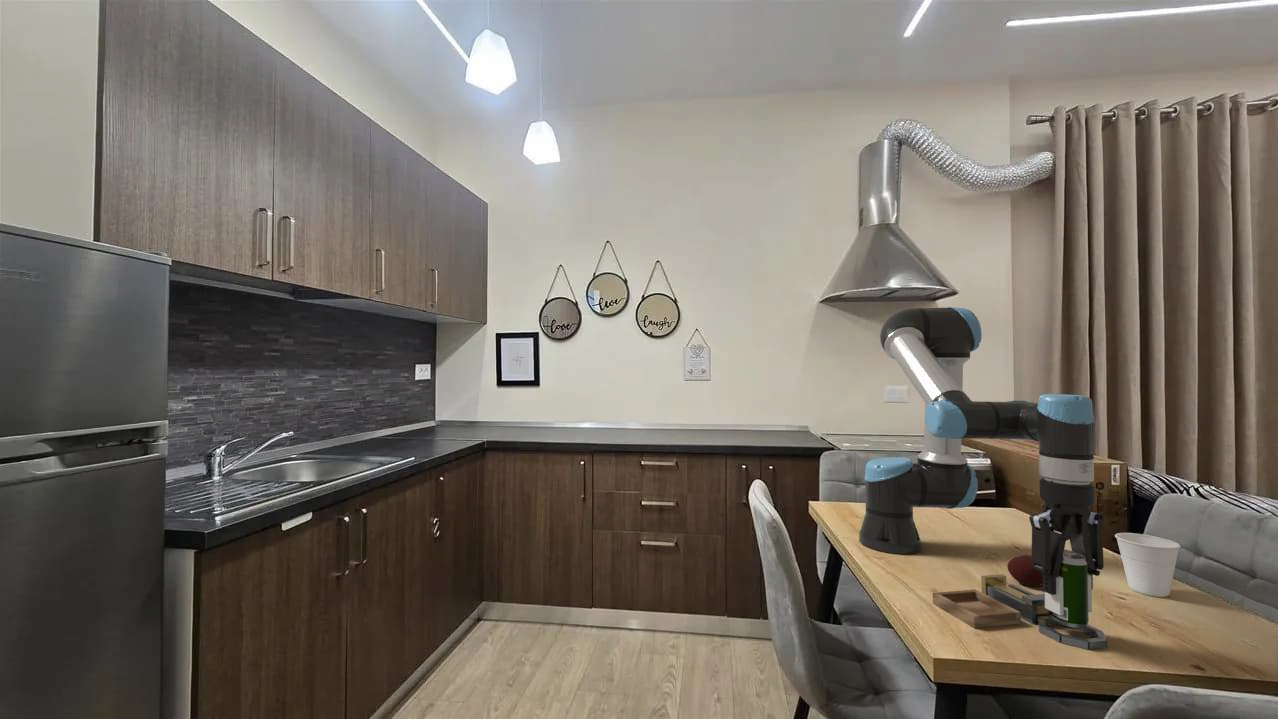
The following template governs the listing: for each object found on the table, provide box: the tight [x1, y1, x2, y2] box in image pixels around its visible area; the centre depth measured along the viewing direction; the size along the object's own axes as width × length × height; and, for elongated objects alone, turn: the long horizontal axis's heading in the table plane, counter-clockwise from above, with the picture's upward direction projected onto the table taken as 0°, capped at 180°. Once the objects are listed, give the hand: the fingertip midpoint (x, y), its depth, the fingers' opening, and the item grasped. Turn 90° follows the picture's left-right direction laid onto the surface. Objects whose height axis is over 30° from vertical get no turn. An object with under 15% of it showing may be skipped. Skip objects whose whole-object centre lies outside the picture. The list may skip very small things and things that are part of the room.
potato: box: [1006, 554, 1043, 587], centre depth 110 cm, size 8×9×6 cm
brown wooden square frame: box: [932, 588, 1022, 629], centre depth 96 cm, size 10×10×2 cm
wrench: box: [988, 583, 1108, 651], centre depth 93 cm, size 18×9×4 cm, turn 10°
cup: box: [1114, 532, 1182, 598], centre depth 106 cm, size 10×10×11 cm
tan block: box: [980, 573, 1050, 621], centre depth 98 cm, size 11×5×4 cm, turn 10°
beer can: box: [1049, 549, 1090, 629], centre depth 88 cm, size 5×5×12 cm
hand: (1068, 609), depth 88 cm, fingers closed on beer can, 5 cm apart
